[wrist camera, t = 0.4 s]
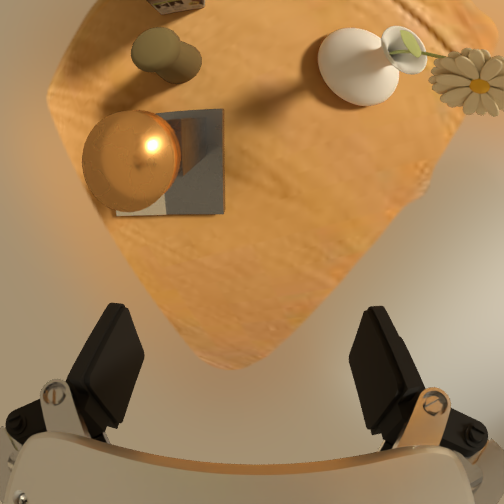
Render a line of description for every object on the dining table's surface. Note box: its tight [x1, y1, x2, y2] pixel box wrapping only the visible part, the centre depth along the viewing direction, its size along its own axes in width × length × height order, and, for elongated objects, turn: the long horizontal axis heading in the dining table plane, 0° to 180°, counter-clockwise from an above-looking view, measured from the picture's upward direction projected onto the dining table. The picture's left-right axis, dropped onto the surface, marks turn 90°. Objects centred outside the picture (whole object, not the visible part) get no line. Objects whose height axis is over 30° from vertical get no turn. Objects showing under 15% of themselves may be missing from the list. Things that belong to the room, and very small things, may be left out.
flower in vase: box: [318, 26, 504, 117], centre depth 17 cm, size 13×11×25 cm
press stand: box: [116, 109, 225, 216], centre depth 29 cm, size 14×16×14 cm
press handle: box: [82, 110, 181, 212], centre depth 22 cm, size 7×7×13 cm
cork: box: [131, 27, 202, 84], centre depth 24 cm, size 6×6×11 cm
